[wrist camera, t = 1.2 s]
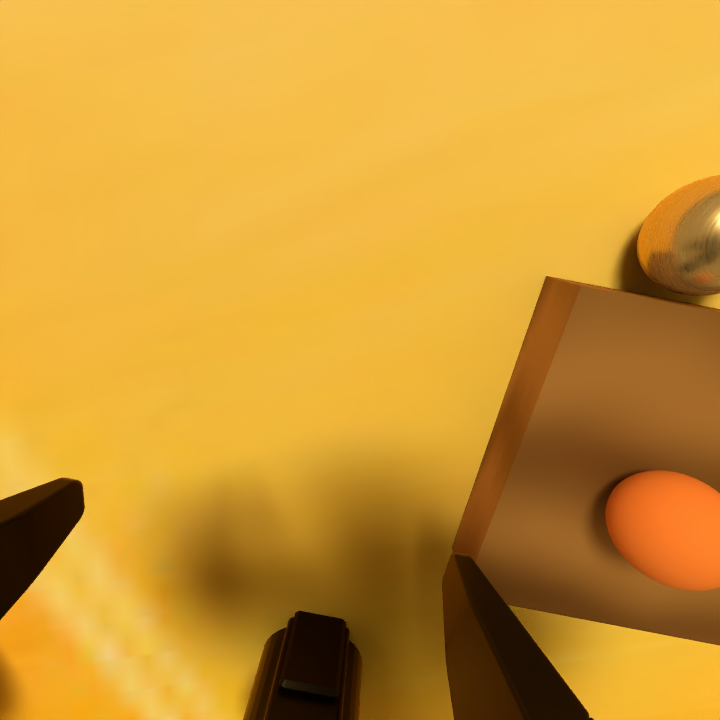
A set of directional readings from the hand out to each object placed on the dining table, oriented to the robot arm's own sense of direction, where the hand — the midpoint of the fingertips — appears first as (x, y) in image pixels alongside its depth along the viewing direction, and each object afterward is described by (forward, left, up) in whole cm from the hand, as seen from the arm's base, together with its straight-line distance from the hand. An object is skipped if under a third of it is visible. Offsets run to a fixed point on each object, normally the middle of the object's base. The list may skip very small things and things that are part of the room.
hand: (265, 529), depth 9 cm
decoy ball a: (+9, -11, -6) cm, 15 cm away
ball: (0, -12, -3) cm, 12 cm away
